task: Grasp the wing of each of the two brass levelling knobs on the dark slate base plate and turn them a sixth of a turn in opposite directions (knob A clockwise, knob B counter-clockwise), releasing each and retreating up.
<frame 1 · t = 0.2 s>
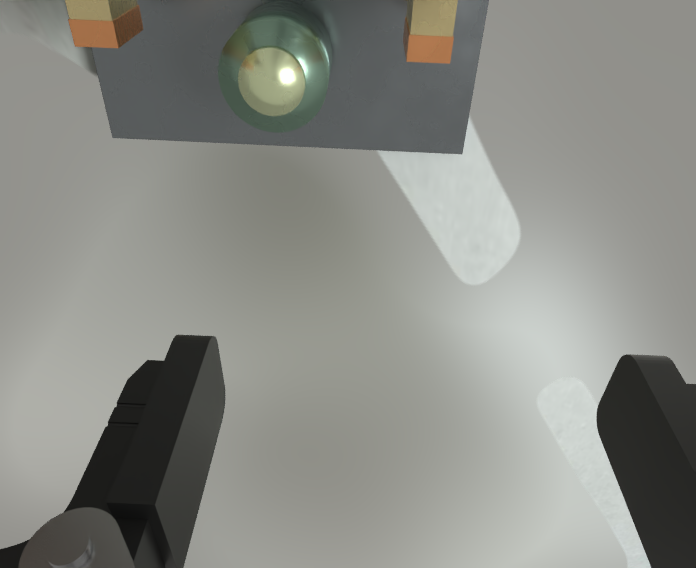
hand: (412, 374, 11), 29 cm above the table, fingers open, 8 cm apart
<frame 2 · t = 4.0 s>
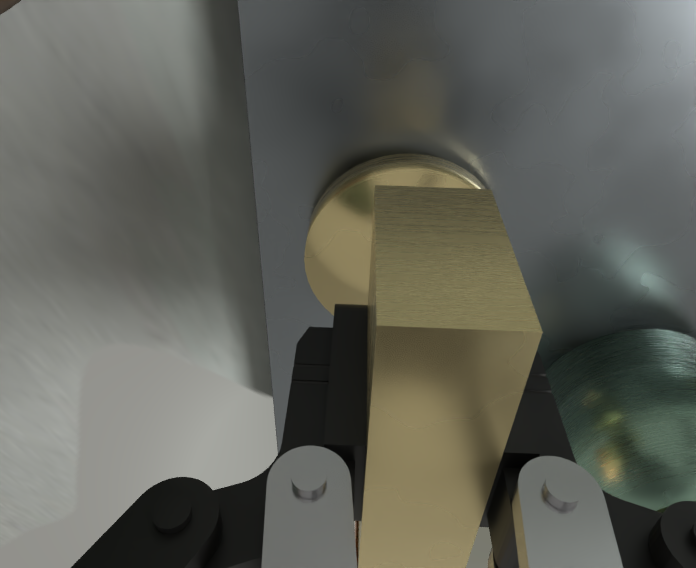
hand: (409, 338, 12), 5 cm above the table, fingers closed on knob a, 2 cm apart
knob a: (411, 342, 12), point 5 cm above the table, hinge at 0.0°, touching gripper
base plate: (650, 279, 17), on the table
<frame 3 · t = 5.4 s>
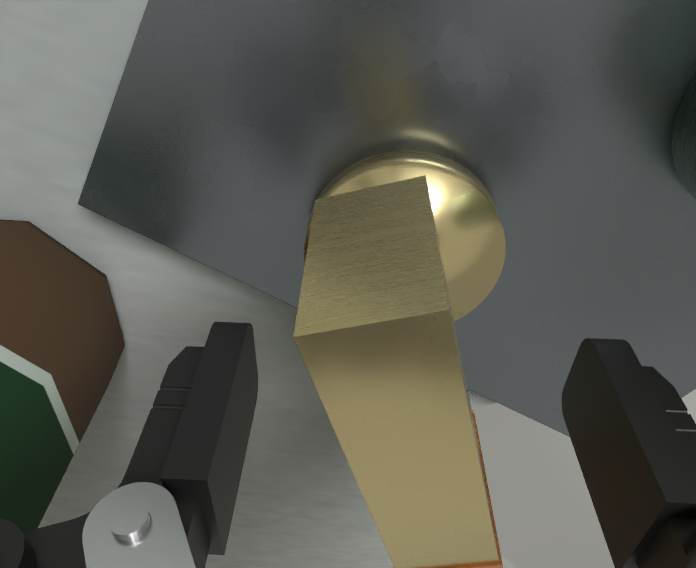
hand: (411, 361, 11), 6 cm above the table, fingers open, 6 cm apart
knob a: (410, 336, 12), point 5 cm above the table, hinge at -43.8°
beer bottle: (21, 298, 19), on the table
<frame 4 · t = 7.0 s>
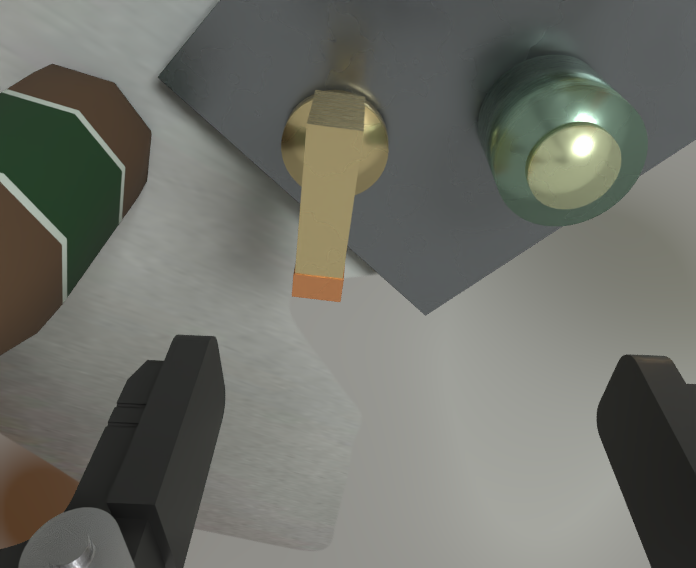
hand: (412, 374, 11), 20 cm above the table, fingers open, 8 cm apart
knob a: (330, 178, 24), point 5 cm above the table, hinge at -50.9°
base plate: (488, 48, 26), on the table
beer bottle: (86, 133, 30), on the table
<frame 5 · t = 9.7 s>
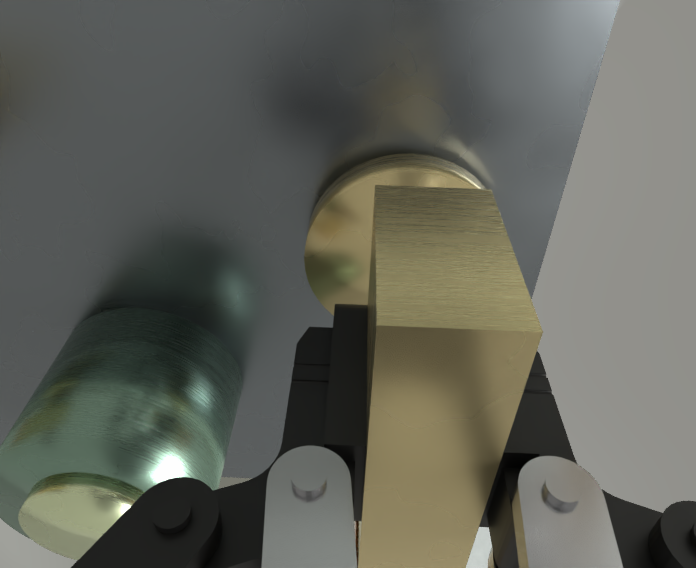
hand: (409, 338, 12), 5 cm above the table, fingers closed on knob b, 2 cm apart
base plate: (143, 259, 17), on the table
knob b: (411, 342, 12), point 5 cm above the table, hinge at 0.0°, touching gripper
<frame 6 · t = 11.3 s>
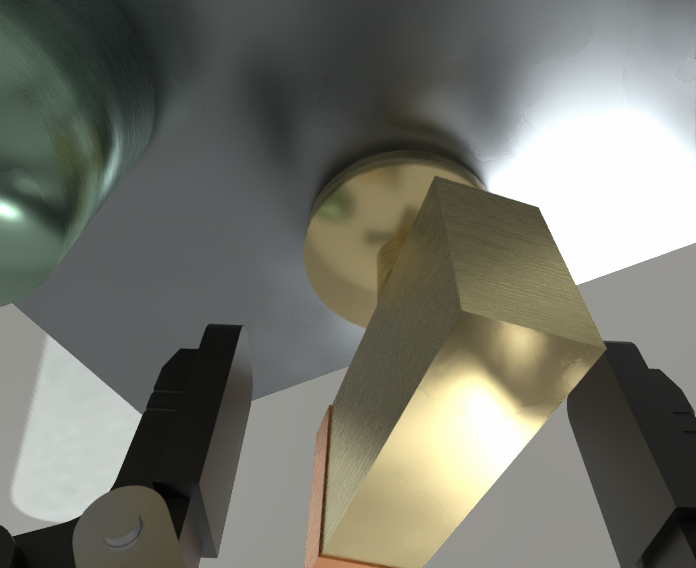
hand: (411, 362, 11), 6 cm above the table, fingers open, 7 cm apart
knob b: (408, 336, 12), point 5 cm above the table, hinge at 44.4°
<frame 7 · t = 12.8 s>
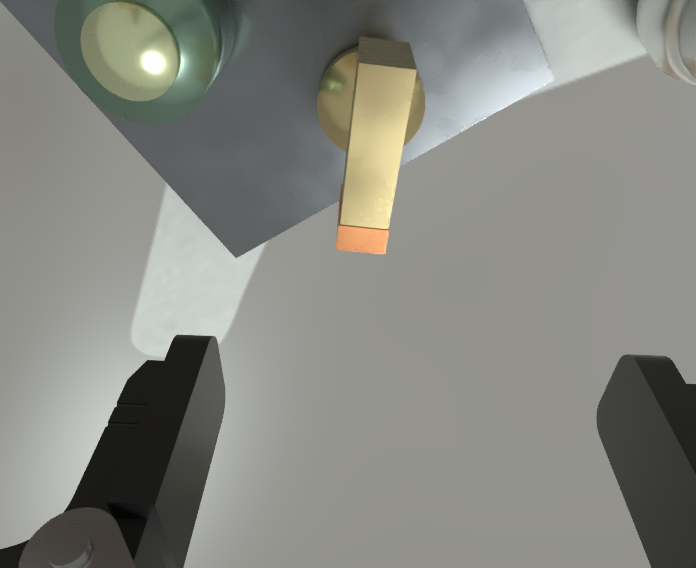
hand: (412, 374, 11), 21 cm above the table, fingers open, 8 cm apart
knob b: (371, 131, 24), point 5 cm above the table, hinge at 51.1°
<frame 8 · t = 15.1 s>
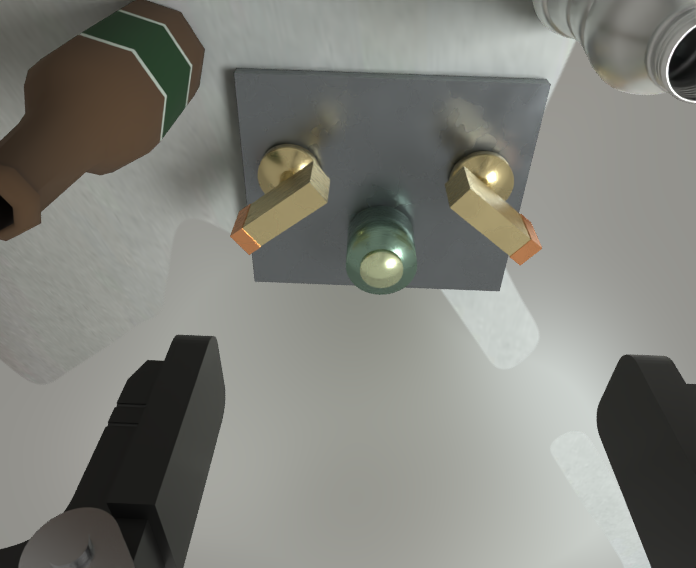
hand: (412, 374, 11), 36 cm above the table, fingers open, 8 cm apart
knob a: (284, 195, 44), point 5 cm above the table, hinge at -51.8°
base plate: (383, 189, 49), on the table
knob b: (488, 202, 43), point 5 cm above the table, hinge at 52.1°
beer bottle: (158, 51, 43), on the table
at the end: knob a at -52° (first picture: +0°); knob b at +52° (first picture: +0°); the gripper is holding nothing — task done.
